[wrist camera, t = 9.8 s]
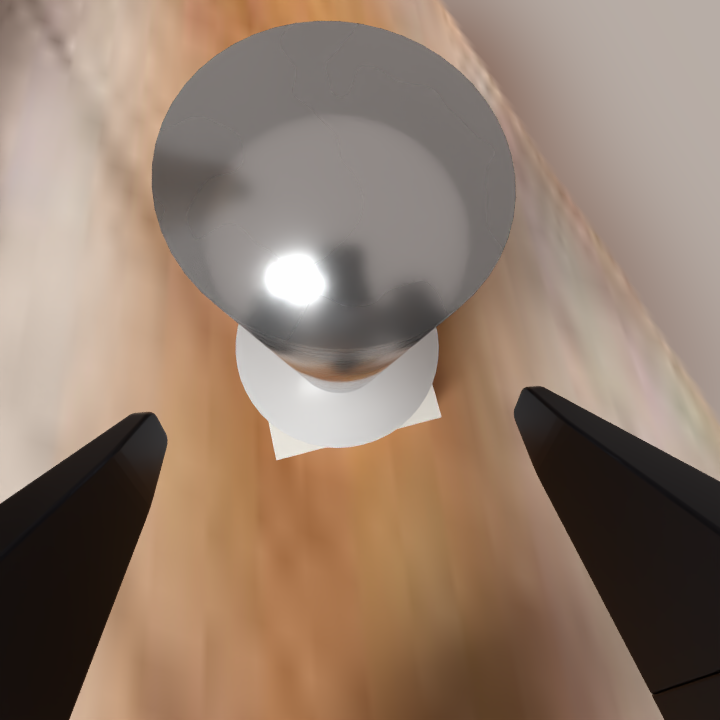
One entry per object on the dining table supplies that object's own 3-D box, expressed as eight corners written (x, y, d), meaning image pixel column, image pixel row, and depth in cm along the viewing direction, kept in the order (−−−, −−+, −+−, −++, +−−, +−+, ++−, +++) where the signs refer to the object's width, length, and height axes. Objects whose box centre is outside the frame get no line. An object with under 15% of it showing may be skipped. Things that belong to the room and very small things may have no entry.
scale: (439, 416, 19) (476, 419, 14) (273, 459, 18) (248, 480, 13) (389, 232, 21) (405, 176, 16) (233, 263, 20) (197, 213, 15)
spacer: (374, 403, 16) (481, 391, 4) (280, 379, 16) (92, 291, 4) (395, 314, 16) (539, 73, 5) (306, 291, 16) (219, -17, 4)
